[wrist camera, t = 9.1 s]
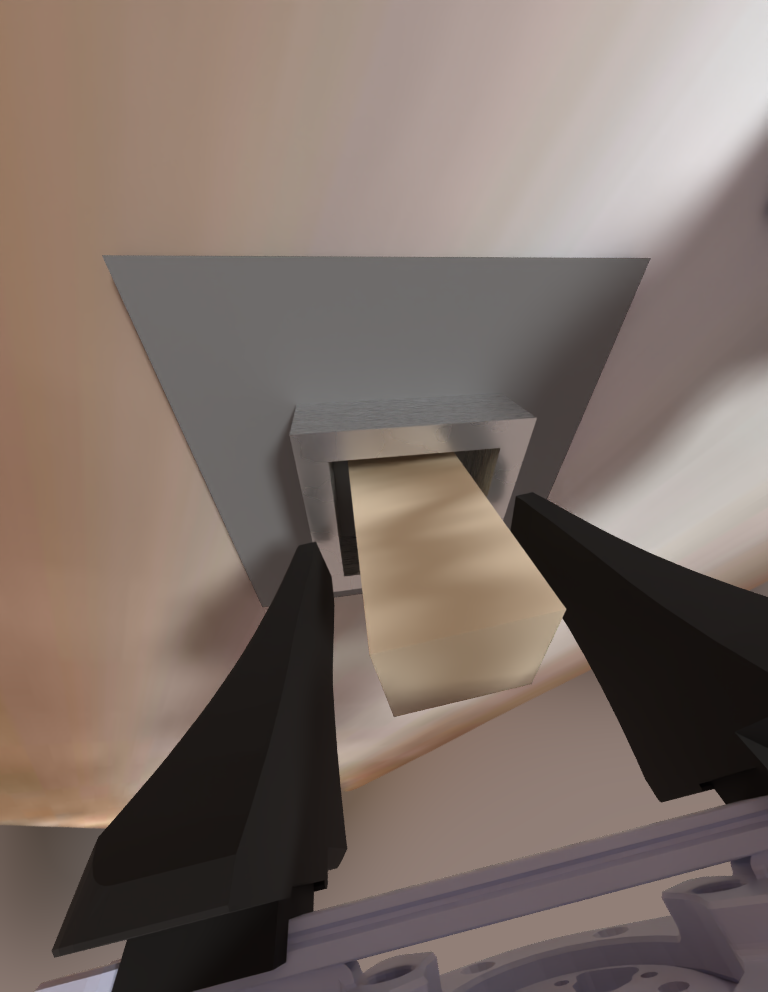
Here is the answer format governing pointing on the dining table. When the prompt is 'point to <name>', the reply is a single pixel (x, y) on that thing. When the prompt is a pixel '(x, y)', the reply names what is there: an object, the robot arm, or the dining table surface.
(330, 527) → the socket
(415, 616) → the beige block
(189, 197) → the dining table surface
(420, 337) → the mat
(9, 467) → the dining table surface
